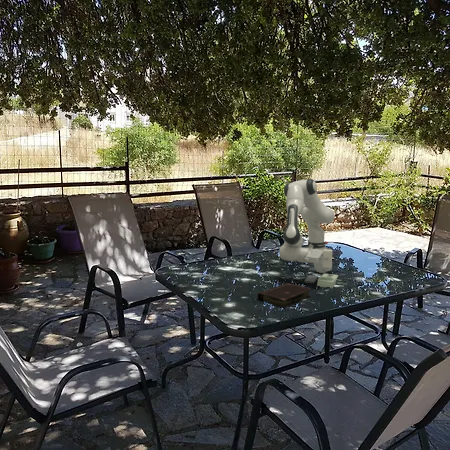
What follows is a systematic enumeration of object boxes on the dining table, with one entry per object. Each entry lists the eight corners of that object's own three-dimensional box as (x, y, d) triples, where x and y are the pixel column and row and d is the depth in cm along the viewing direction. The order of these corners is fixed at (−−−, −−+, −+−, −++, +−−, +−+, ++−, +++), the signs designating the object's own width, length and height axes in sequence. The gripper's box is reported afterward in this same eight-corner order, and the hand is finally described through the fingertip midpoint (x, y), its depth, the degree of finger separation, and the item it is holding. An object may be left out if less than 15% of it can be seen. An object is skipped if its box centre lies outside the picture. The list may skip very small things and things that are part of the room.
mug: (337, 274, 286) (338, 255, 284) (324, 276, 281) (325, 256, 279) (323, 268, 299) (323, 250, 297) (309, 270, 294) (310, 251, 292)
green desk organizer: (323, 276, 282) (323, 271, 281) (337, 278, 278) (338, 272, 278) (317, 286, 262) (317, 280, 261) (332, 288, 258) (333, 282, 258)
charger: (323, 265, 265) (324, 247, 263) (331, 266, 264) (332, 247, 262) (322, 267, 261) (323, 248, 259) (330, 267, 260) (331, 249, 258)
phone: (308, 276, 280) (308, 274, 280) (318, 278, 278) (318, 276, 278) (304, 282, 268) (304, 280, 268) (314, 283, 266) (314, 281, 266)
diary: (256, 300, 239) (257, 291, 238) (285, 290, 256) (285, 282, 255) (284, 309, 226) (285, 299, 225) (312, 297, 243) (312, 288, 243)
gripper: (302, 254, 256) (326, 256, 251) (309, 246, 275) (332, 248, 270) (301, 264, 257) (326, 267, 252) (308, 256, 276) (331, 258, 271)
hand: (329, 257), depth 261 cm, fingers closed on charger, 4 cm apart
